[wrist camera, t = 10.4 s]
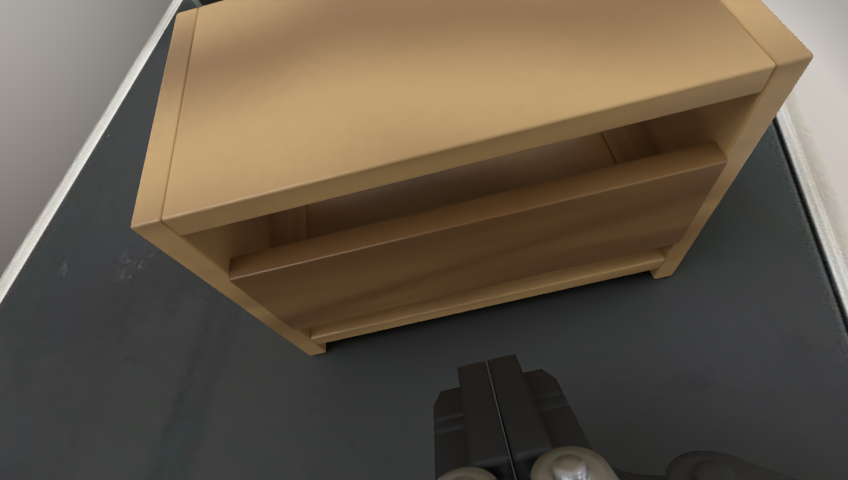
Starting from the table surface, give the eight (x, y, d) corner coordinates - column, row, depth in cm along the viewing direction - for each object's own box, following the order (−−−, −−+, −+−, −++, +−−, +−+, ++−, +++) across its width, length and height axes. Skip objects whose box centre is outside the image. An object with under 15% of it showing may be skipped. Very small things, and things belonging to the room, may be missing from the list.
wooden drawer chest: (674, 280, 19) (822, 60, 10) (309, 360, 20) (127, 234, 11) (596, 124, 24) (644, -122, 14) (305, 197, 25) (176, 12, 16)
